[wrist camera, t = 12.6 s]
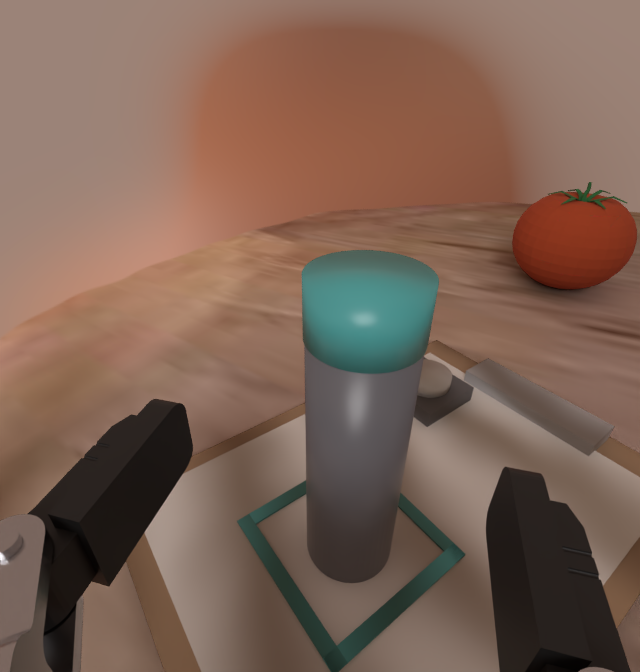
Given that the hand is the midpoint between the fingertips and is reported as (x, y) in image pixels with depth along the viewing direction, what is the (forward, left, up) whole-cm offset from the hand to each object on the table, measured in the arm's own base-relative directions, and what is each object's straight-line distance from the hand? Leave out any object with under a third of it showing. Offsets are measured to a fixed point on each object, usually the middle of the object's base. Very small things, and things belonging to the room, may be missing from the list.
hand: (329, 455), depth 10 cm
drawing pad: (-7, -2, -10) cm, 12 cm away
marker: (-3, -2, -9) cm, 10 cm away
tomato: (-38, -11, -10) cm, 41 cm away
